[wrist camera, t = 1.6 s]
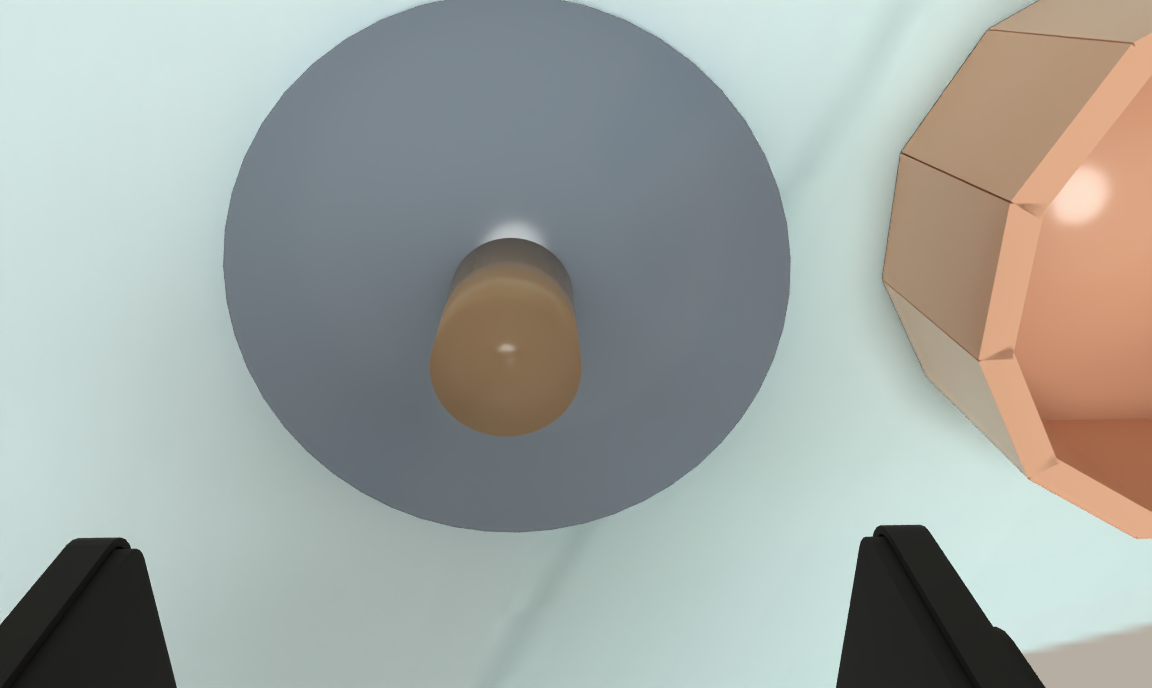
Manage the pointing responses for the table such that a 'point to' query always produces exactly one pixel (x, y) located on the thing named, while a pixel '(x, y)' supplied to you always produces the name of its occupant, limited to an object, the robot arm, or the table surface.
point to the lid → (506, 263)
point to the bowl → (1041, 249)
